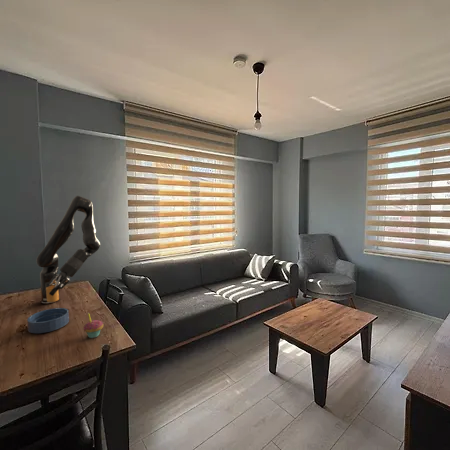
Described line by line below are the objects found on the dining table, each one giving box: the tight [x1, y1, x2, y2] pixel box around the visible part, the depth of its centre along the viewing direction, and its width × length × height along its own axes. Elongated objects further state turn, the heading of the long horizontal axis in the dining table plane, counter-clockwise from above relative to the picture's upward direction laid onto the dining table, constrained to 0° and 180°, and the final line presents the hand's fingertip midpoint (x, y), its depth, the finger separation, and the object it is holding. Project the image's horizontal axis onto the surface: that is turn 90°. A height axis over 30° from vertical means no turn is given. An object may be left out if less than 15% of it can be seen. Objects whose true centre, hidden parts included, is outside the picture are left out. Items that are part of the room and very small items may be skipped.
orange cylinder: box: [46, 285, 60, 303], centre depth 130 cm, size 5×5×8 cm
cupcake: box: [82, 312, 104, 339], centre depth 120 cm, size 9×8×12 cm
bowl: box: [26, 307, 70, 334], centre depth 130 cm, size 18×18×6 cm
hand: (48, 293), depth 128 cm, fingers closed on orange cylinder, 5 cm apart
